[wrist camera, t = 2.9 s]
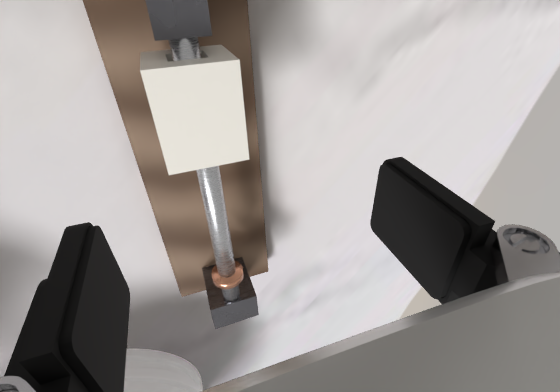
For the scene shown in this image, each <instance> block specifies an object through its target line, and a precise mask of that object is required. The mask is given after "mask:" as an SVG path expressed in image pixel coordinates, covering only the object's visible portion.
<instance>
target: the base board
mask: <svg viewBox="0 0 560 392" xmlns="http://www.w3.org/2000/svg"><path fill="white" fill-rule="evenodd" d="M207 1H208V8H209V16H210V23H211V30H212V36H205V37H198V41H199V47H201V46H212V45H222V46H224V47H225V48H226V49H227V50H228V51H230V52H231V53H232V54H233V55H235V56H236V57H237V58H238V59H239V60H240V69H241V79H242V89H243V100H244V110H245V120H246V130H247V140H248V150H249V160H245V161H240V162H235V163H229V164H224V165H219V169H220V175H221V181H222V187H223V193H224V200H225V206H226V212H227V218H228V224H229V230H230V236H231V242H232V248H233V254H234V259H236V258H240V257H243V260H244V263H245V266H246V269H247V271H248V274H249V277H251V276H254V275H257V274H261V273H264V272H268V262H267V249H266V236H265V223H264V210H263V197H262V184H261V172H260V159H259V146H258V133H257V120H256V107H255V94H254V81H253V68H252V56H251V43H250V30H249V17H248V4H247V0H207ZM83 3H84V6H85V9H86V12H87V15H88V18H89V21H90V24H91V27H92V30H93V33H94V36H95V39H96V42H97V45H98V48H99V50H100V53H101V56H102V59H103V62H104V65H105V68H106V71H107V74H108V77H109V80H110V83H111V86H112V89H113V92H114V95H115V98H116V101H117V104H118V107H119V110H120V113H121V116H122V119H123V122H124V125H125V128H126V131H127V134H128V137H129V140H130V143H131V146H132V149H133V152H134V155H135V158H136V161H137V164H138V167H139V170H140V173H141V176H142V179H143V182H144V185H145V188H146V191H147V194H148V197H149V200H150V203H151V206H152V209H153V212H154V215H155V218H156V221H157V224H158V227H159V230H160V233H161V236H162V239H163V242H164V245H165V248H166V251H167V254H168V257H169V260H170V263H171V266H172V269H173V272H174V275H175V278H176V281H177V284H178V287H179V290H180V293H181V296H182V297H183V296H187V295H190V294H193V293H197V292H200V291H204V290H206V286H205V281H204V276H203V271H202V268H204V267H207V266H211V265H215V264H216V260H215V256H214V251H213V246H212V242H211V237H210V232H209V228H208V223H207V218H206V213H205V209H204V204H203V199H202V195H201V190H200V185H199V181H198V176H197V171H196V170H194V171H189V172H183V173H178V174H173V175H169V174H168V171H167V167H166V163H165V160H164V156H163V152H162V149H161V145H160V141H159V138H158V134H157V130H156V127H155V123H154V120H153V116H152V112H151V109H150V105H149V101H148V98H147V94H146V90H145V87H144V83H143V80H142V76H141V72H140V54H141V52H148V51H159V50H169V49H170V45H169V40H159V41H155V39H154V35H153V30H152V26H151V22H150V18H149V14H148V9H147V5H146V1H145V0H83Z"/></svg>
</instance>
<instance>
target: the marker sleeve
mask: <svg viewBox="0 0 560 392" xmlns="http://www.w3.org/2000/svg"><path fill="white" fill-rule="evenodd" d="M200 53H201V58H198V59H188V60H179V61H173V59H172V54H171V50H170V49H169V50H159V51H148V52H141V54H140V72H141V76H142V80H143V83H144V87H145V90H146V94H147V98H148V101H149V105H150V109H151V112H152V116H153V120H154V123H155V127H156V130H157V134H158V138H159V141H160V145H161V149H162V152H163V156H164V160H165V163H166V167H167V171H168V174H169V175H173V174H178V173H183V172H189V171H194V170H199V169H204V168H209V167H214V166H219V165H224V164H229V163H235V162H240V161H245V160H249V150H248V140H247V130H246V120H245V110H244V100H243V89H242V79H241V69H240V60H239V59H238V58H237V57H236V56H235V55H233V54H232V53H231V52H230V51H228V50H227V49H226V48H225V47H224V46H222V45H212V46H201V47H200Z"/></svg>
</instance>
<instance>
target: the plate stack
mask: <svg viewBox="0 0 560 392" xmlns="http://www.w3.org/2000/svg"><path fill="white" fill-rule="evenodd" d="M201 391H203V386H202V379H201V376H200V373H199V372H198V370H197V369H196V367H195V366H194V365H193V364H191V363H190V362H189V361H187V360H185V359H184V358H182V357H179V356H177V355H174V354H171V353H168V352H163V351H158V350H151V349H139V348H127V350H126V365H125V380H124V392H201Z"/></svg>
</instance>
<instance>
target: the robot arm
mask: <svg viewBox="0 0 560 392" xmlns="http://www.w3.org/2000/svg"><path fill="white" fill-rule="evenodd" d="M494 223H495V221H494V220H492V219H491V218H490V217H488V216H487V215H485V214H484V213H482V212H481V211H479V210H478V209H477V208H475V207H474V206H472V205H471V204H469V203H468V202H466V201H465V200H464V199H462V198H461V197H459V196H458V195H456V194H455V193H453V192H452V191H451V190H449V189H448V188H446V187H445V186H443V185H442V184H440V183H439V182H438V181H436V180H435V179H433V178H432V177H430V176H429V175H427V174H426V173H425V172H423V171H422V170H420V169H419V168H417V167H416V166H414V165H413V164H412V163H410V162H409V161H407V160H406V159H404V158H402V157H397V158H393V159H388V160H385V161H384V163H383V165H381V166H380V169H379V174H378V180H377V186H376V192H375V198H374V204H373V210H372V216H371V223H370V224H371V228H372V230H373V232H374V233H375V234H376V235H377V236H378V237H379V239H380V240H381V241H382V242H383V243H384V244H385V245H386V246H387V248H388V249H389V250H390V251H391V252H392V253H393V254H394V255H395V256H396V258H397V259H398V260H399V261H400V262H401V263H402V264H403V265H404V267H405V268H406V269H407V270H408V271H409V272H410V273H411V274H412V275H413V277H414V278H415V279H416V280H417V281H418V282H419V283H420V284H421V286H422V287H423V288H424V289H425V290H426V291H427V292H428V293H429V294H430V296H431V297H433V298H434V299H438V300H439V301H440V303H441V304H442V305H439V306H436V307H433V308H431V309H428V310H425V311H422V312H419V313H416V314H414V315H411V316H408V317H405V318H402V319H399V320H397V321H394V322H391V323H388V324H385V325H383V326H380V327H377V328H374V329H371V330H369V331H366V332H363V333H360V334H358V335H355V336H352V337H349V338H346V339H344V340H341V341H338V342H335V343H332V344H330V345H327V346H324V347H321V348H319V349H316V350H313V351H310V352H307V353H305V354H302V355H299V356H296V357H294V358H291V359H288V360H285V361H283V362H280V363H277V364H275V365H272V366H269V367H266V368H264V369H261V370H258V371H255V372H253V373H250V374H247V375H244V376H242V377H239V378H236V379H233V380H231V381H228V382H225V383H222V384H220V385H217V386H214V387H211V388H209V389H206V390H203V391H201V392H560V253H559V252H558V250H557V248H556V246H555V244H554V243H553V241H552V240H551V239H549V238H548V237H547V236H546V235H544V234H542V233H541V232H539V231H537V230H534V229H532V228H529V227H525V226H521V225H513V224H512V225H504V226H502V227H500V228H499V229H498V230H497V232H495V231H494V230H492V227H493V225H494ZM129 306H130V292H129V287H128V285H127V283H126V281H125V279H124V276H123V274H122V272H121V270H120V268H119V266H118V264H117V262H116V259H115V257H114V255H113V253H112V251H111V249H110V247H109V245H108V242H107V240H106V238H105V236H104V234H103V232H102V230H101V228H100V227H99V226H93V225H92V224H91V223H89V222H88V223H83V224H78V225H73V226H69V227H66V229H65V230H64V233H63V236H62V239H61V242H60V245H59V247H58V250H57V253H56V256H55V259H54V262H53V265H52V267H51V270H50V273H49V276H48V279H45V280H43V281H41V282H40V284H39V286H38V287H37V290H36V293H35V295H34V298H33V301H32V303H31V306H30V309H29V311H28V314H27V317H26V319H25V322H24V325H23V327H22V330H21V333H20V335H19V338H18V341H17V343H16V346H15V349H14V351H13V354H12V357H11V359H10V362H9V365H8V367H7V370H6V373H5V375H4V377H1V378H0V392H124V380H125V365H126V350H127V336H128V321H129Z"/></svg>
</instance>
